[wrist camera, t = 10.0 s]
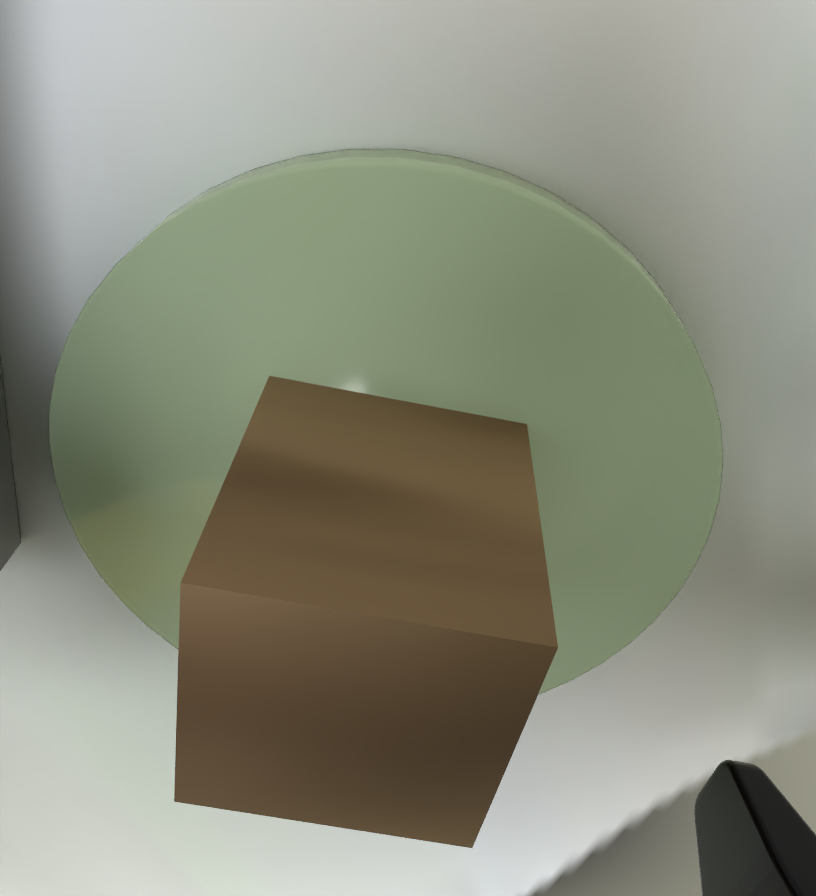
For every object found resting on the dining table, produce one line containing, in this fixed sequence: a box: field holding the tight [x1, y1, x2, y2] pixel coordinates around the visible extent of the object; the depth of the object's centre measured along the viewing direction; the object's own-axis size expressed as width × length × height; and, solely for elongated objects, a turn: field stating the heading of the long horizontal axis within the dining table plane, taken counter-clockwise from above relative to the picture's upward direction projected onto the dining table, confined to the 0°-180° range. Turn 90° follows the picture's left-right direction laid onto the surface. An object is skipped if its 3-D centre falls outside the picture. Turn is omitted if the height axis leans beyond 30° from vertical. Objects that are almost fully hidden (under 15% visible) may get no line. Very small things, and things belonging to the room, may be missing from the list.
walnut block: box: [174, 376, 558, 848], centre depth 11 cm, size 4×4×4 cm
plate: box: [49, 149, 723, 694], centre depth 13 cm, size 11×11×1 cm
